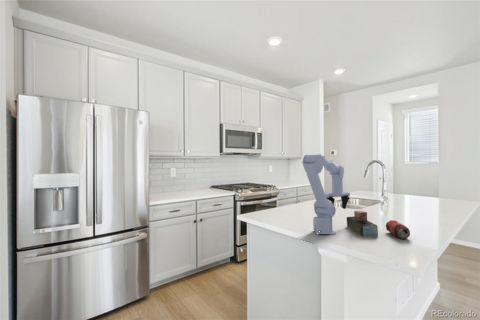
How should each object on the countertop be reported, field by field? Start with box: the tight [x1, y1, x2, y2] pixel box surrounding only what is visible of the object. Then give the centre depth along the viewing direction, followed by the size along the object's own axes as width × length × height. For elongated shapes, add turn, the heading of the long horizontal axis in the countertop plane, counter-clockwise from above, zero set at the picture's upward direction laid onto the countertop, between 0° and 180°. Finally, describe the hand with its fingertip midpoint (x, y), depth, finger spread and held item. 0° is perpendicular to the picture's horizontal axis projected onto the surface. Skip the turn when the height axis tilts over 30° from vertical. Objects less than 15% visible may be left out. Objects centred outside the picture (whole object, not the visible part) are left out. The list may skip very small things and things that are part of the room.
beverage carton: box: [346, 216, 379, 238], centre depth 127 cm, size 8×19×7 cm, turn 179°
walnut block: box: [353, 210, 368, 221], centre depth 127 cm, size 4×4×4 cm
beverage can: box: [385, 219, 411, 240], centre depth 118 cm, size 7×12×7 cm, turn 169°
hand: (338, 209), depth 137 cm, fingers open, 7 cm apart
